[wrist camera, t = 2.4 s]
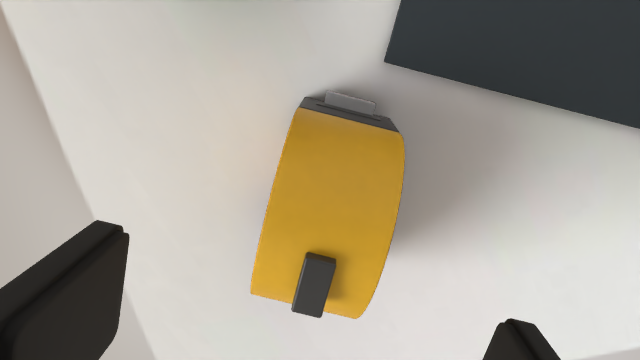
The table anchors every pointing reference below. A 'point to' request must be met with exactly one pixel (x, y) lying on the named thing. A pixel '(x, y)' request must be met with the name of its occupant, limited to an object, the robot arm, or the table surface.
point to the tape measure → (331, 208)
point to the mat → (529, 50)
